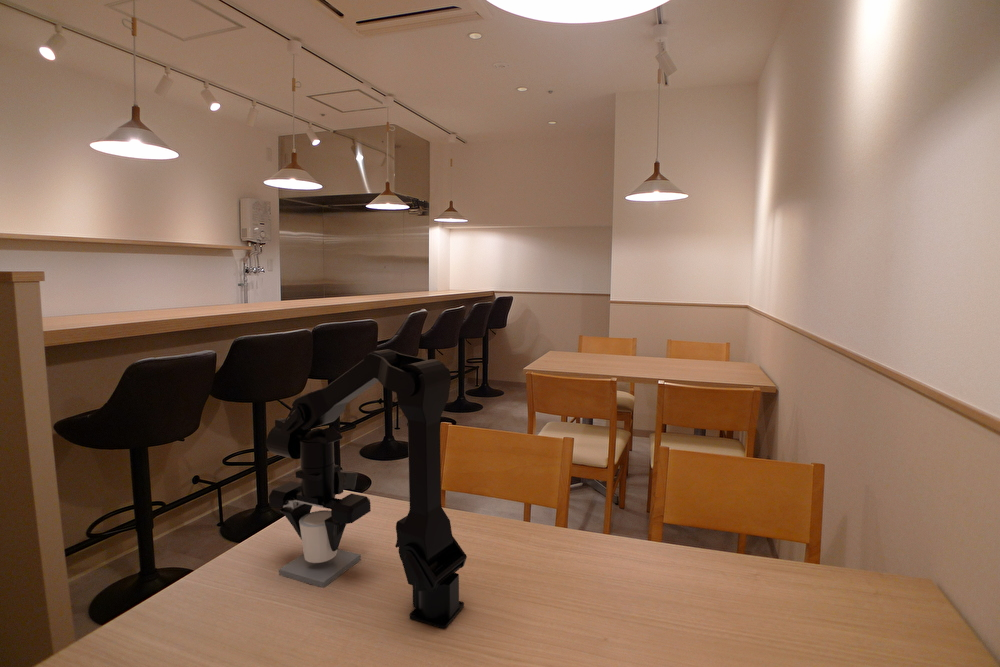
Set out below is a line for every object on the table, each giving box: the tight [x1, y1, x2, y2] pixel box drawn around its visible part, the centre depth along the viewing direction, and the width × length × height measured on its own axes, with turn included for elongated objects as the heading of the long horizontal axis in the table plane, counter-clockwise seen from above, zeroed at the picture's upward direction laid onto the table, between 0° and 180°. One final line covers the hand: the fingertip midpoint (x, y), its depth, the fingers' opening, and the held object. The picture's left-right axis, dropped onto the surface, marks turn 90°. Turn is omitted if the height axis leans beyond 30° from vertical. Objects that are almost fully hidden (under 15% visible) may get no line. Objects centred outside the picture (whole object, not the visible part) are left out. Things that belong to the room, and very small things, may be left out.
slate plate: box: [278, 548, 362, 589], centre depth 98 cm, size 10×10×1 cm
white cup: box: [299, 509, 337, 563], centre depth 97 cm, size 7×7×7 cm
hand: (320, 546), depth 97 cm, fingers closed on white cup, 6 cm apart
